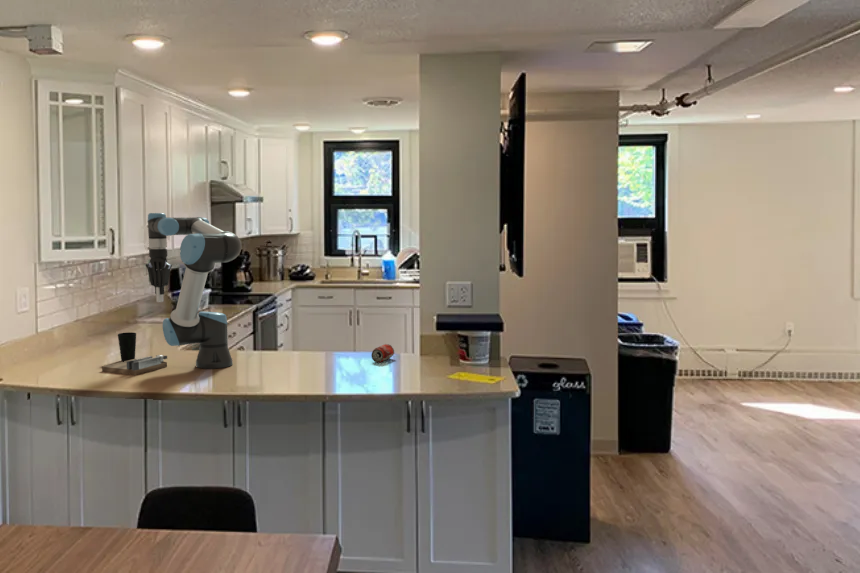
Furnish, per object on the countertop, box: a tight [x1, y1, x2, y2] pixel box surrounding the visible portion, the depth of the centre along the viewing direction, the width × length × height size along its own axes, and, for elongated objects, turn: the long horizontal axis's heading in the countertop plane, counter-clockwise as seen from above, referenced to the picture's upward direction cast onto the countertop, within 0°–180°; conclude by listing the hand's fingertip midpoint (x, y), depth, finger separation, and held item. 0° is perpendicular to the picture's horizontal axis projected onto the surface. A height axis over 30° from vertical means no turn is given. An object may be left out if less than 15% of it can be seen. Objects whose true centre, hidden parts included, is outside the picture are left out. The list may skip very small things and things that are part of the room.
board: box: [101, 358, 168, 376], centre depth 318 cm, size 18×18×2 cm
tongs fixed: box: [132, 354, 168, 370], centre depth 315 cm, size 4×20×3 cm, turn 156°
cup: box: [117, 331, 137, 362], centre depth 336 cm, size 8×8×12 cm
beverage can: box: [371, 343, 395, 364], centre depth 334 cm, size 7×12×7 cm, turn 161°
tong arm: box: [127, 355, 153, 369], centre depth 313 cm, size 1×13×3 cm, turn 156°
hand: (160, 301), depth 333 cm, fingers closed
